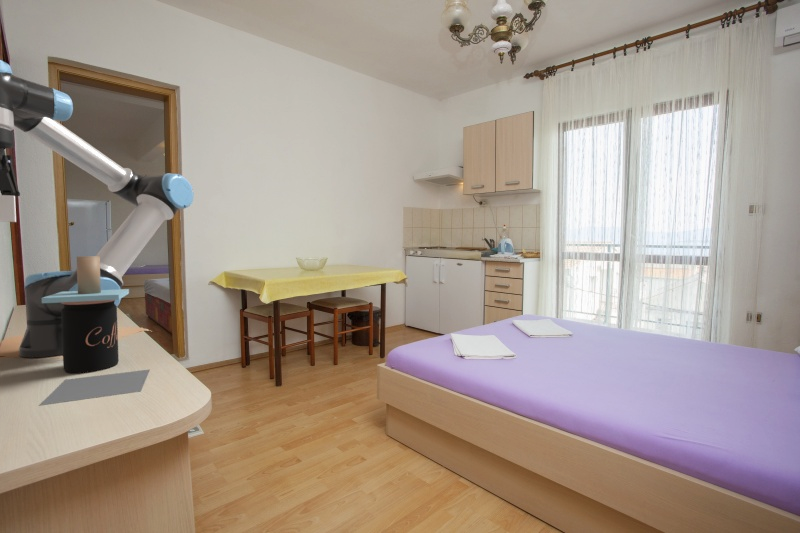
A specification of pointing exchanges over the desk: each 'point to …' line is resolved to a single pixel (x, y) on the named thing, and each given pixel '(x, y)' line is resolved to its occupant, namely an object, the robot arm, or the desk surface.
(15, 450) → the desk surface
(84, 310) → the coffee jar
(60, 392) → the mat
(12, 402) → the desk surface
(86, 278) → the lid
